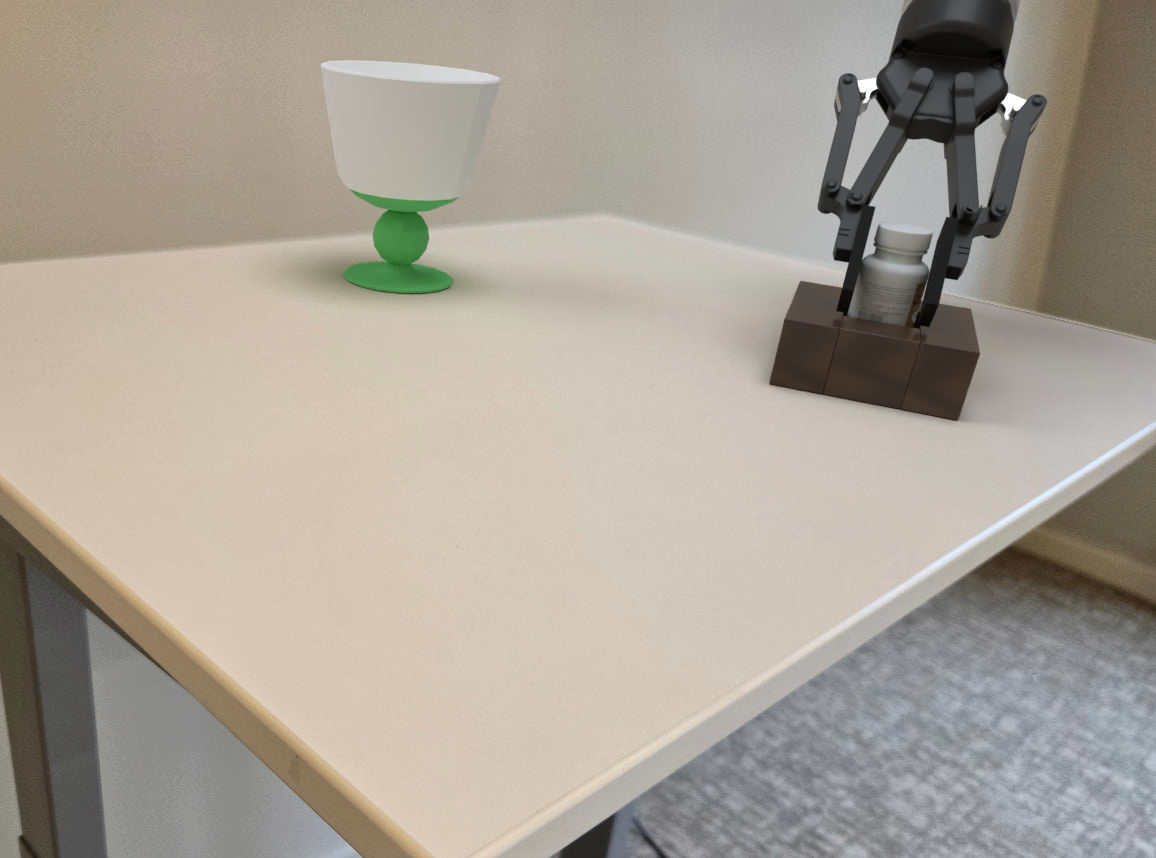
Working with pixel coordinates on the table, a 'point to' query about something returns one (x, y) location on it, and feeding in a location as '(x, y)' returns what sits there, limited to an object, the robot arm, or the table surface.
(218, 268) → the table surface
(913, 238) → the pill bottle
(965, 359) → the holder
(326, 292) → the table surface
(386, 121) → the cup
